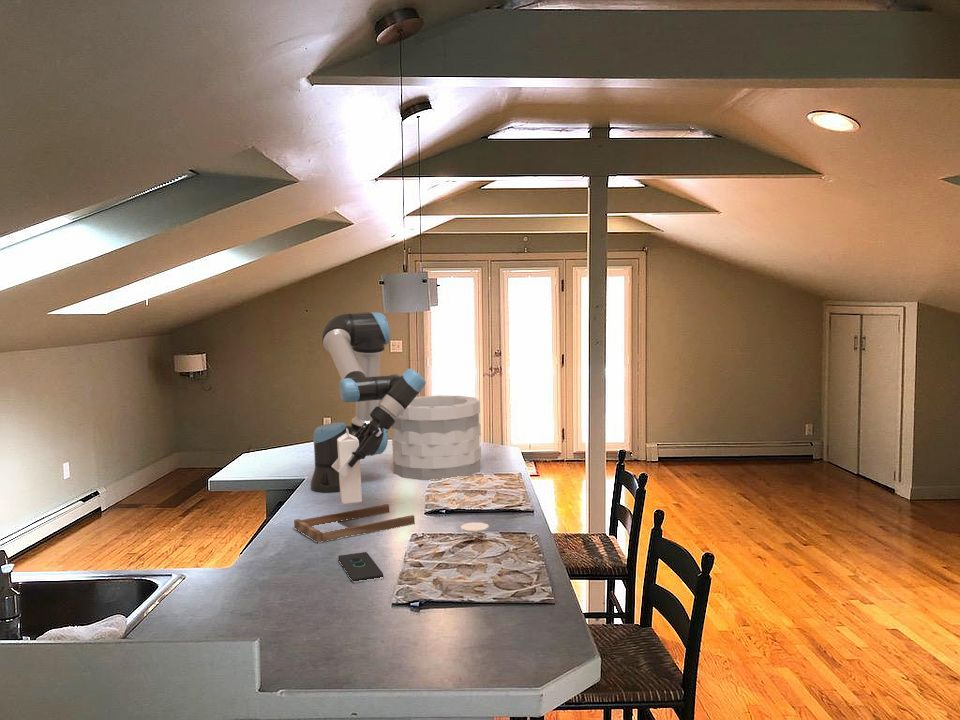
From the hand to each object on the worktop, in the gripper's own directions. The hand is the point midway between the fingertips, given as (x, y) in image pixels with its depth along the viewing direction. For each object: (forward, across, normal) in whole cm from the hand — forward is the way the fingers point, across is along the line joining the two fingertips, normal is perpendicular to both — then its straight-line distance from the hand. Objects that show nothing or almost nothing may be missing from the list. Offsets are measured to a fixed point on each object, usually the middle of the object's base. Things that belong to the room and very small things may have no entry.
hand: (338, 471), depth 257 cm
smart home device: (+17, -37, -10) cm, 42 cm away
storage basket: (-26, +61, -53) cm, 85 cm away
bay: (+10, +1, -16) cm, 19 cm away
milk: (+4, 0, -9) cm, 10 cm away
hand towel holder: (-7, -35, -34) cm, 50 cm away
